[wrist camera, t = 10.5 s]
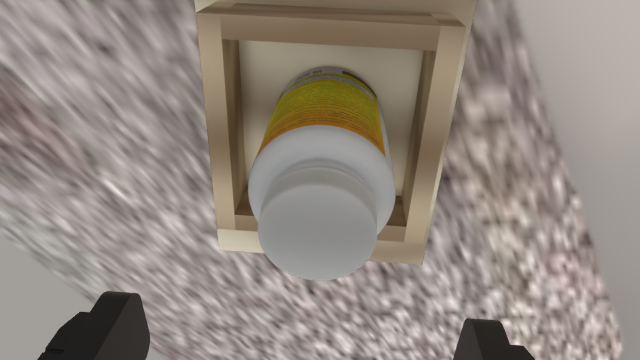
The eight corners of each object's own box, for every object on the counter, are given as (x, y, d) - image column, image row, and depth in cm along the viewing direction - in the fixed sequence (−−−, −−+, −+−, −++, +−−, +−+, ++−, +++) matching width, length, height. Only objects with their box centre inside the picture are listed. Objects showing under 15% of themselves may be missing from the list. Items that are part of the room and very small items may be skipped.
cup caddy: (192, -100, 19) (157, -105, 16) (488, -87, 19) (518, -89, 15) (223, 240, 29) (205, 282, 26) (420, 254, 29) (429, 299, 25)
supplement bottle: (260, 82, 22) (202, 186, 14) (366, 49, 21) (379, 139, 12) (296, 173, 25) (269, 311, 16) (393, 149, 24) (419, 282, 15)
